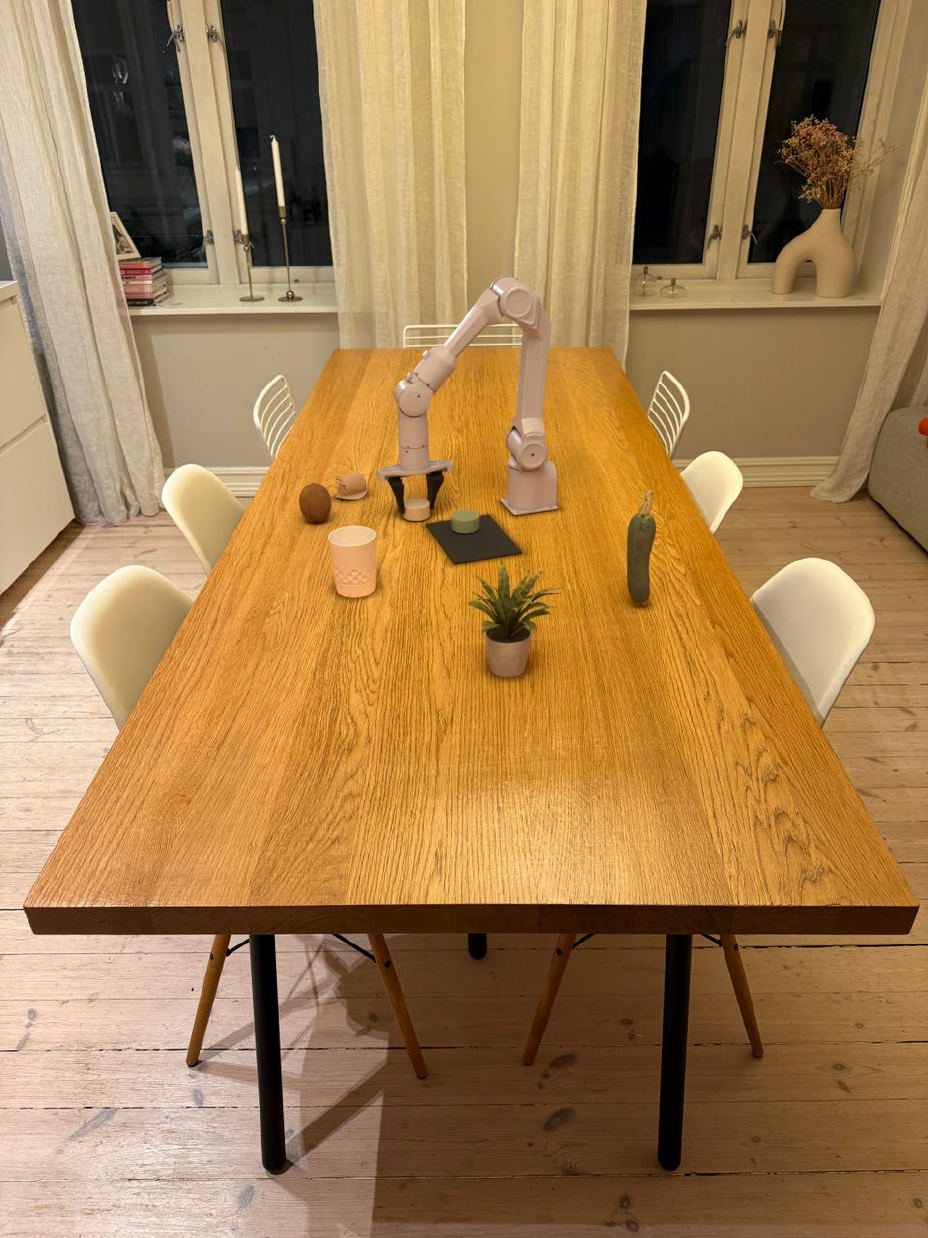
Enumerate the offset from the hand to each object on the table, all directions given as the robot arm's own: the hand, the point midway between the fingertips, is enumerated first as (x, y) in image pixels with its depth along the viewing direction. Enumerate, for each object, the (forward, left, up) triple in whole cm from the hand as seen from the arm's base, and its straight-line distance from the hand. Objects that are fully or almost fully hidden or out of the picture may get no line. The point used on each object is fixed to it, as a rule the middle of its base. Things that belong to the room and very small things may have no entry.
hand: (416, 510), depth 188 cm
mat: (-7, +13, -1) cm, 15 cm away
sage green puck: (-7, +9, -1) cm, 12 cm away
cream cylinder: (0, 0, -1) cm, 1 cm away
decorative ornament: (+10, -15, -2) cm, 18 cm away
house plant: (+3, +58, -2) cm, 59 cm away
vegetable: (-24, +46, -2) cm, 52 cm away
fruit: (+19, -5, -2) cm, 20 cm away
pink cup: (+18, +25, -2) cm, 31 cm away
